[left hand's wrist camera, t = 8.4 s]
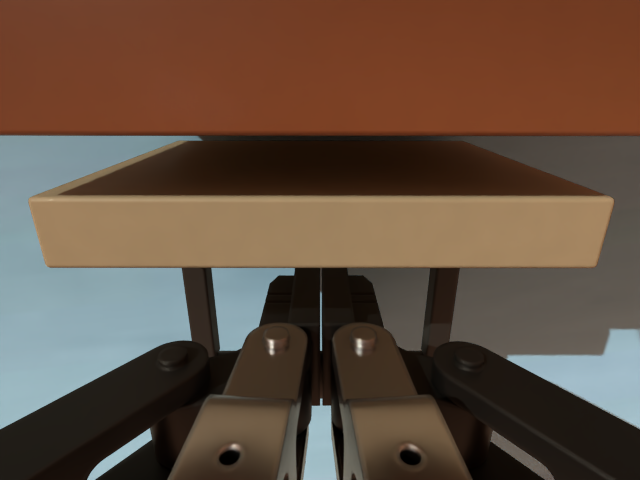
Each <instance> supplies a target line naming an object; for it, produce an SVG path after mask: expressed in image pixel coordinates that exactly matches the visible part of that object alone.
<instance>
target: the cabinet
mask: <svg viewBox="0 0 640 480" xmlns="http://www.w3.org/2000/svg"><path fill="white" fill-rule="evenodd" d="M0 135H38V136H640V0H0Z"/></svg>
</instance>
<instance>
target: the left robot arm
mask: <svg viewBox="0 0 640 480" xmlns="http://www.w3.org/2000/svg"><path fill="white" fill-rule="evenodd" d="M322 386H323V405H331V436H332V444H333V453H334V461H335V469H336V477H337V480H544V479H543V478H542V477H540V476H539V475H537V474H536V473H534V472H533V471H532V470H530V469H529V468H527V467H526V466H525V465H523V464H522V463H520V462H519V461H517V460H516V459H515V458H513V457H512V456H510V455H509V454H508V453H506V452H505V451H503V450H502V449H500V448H499V447H498V446H496V445H495V444H493V443H492V442H491V436H492V431H493V430H494V431H496V432H497V433H498V434H500V435H501V436H503V437H504V438H506V439H507V440H509V441H510V442H512V443H513V444H515V445H516V446H518V447H519V448H521V449H522V450H523V451H525V452H526V453H528V454H529V455H531V456H532V457H534V458H535V459H537V460H538V461H540V462H541V463H542V464H543V465H544V466H545V467H546V468H547V469H548V470H549V471H550V472H551V474H552V475H553V477H554V479H555V480H640V429H638V428H636V427H634V426H632V425H630V424H628V423H626V422H624V421H623V420H621V419H619V418H617V417H615V416H613V415H611V414H609V413H607V412H605V411H604V410H602V409H600V408H598V407H596V406H594V405H592V404H590V403H588V402H586V401H585V400H583V399H581V398H579V397H577V396H575V395H573V394H571V393H569V392H567V391H566V390H564V389H562V388H560V387H558V386H556V385H554V384H552V383H550V382H548V381H547V380H545V379H543V378H541V377H539V376H537V375H535V374H533V373H531V372H529V371H528V370H526V369H524V368H522V367H520V366H518V365H516V364H514V363H512V362H510V361H509V360H507V359H505V358H503V357H501V356H499V355H497V354H495V353H493V352H491V351H490V350H488V349H486V348H484V347H481V346H479V345H476V344H472V343H468V342H459V341H456V342H447V343H444V344H442V345H440V346H438V347H437V348H436V349H435V351H434V353H433V357H430V356H425V355H420V354H416V353H412V352H409V351H406V350H404V349H402V348H400V347H398V346H397V344H396V342H395V339H394V337H393V336H392V334H391V333H390V332H389V331H387V330H386V329H384V326H383V322H382V318H381V315H380V311H379V307H378V303H377V300H376V296H375V292H374V288H373V285H372V283H371V282H370V281H369V280H368V279H367V278H365V277H364V276H363V275H348V272H347V268H322ZM312 406H320V268H295V274H294V276H278V277H277V278H276V279H275V280H273V281H272V282H271V283H270V285H269V289H268V295H267V297H266V303H265V305H264V309H263V313H262V317H261V320H260V324H259V327H257V328H256V329H254V330H253V331H251V332H250V333H249V334H248V336H247V337H246V339H245V342H244V344H243V346H242V349H239V350H237V351H234V352H232V353H228V354H223V355H219V356H214V357H209V355H208V351H207V349H206V348H205V347H204V346H203V345H202V344H199V343H197V342H194V341H175V342H170V343H166V344H163V345H161V346H158V347H156V348H154V349H152V350H150V351H149V352H147V353H145V354H143V355H141V356H139V357H137V358H135V359H133V360H131V361H130V362H128V363H126V364H124V365H122V366H120V367H118V368H116V369H114V370H112V371H111V372H109V373H107V374H105V375H103V376H101V377H99V378H97V379H95V380H93V381H92V382H90V383H88V384H86V385H84V386H82V387H80V388H78V389H76V390H74V391H73V392H71V393H69V394H67V395H65V396H63V397H61V398H59V399H57V400H55V401H54V402H52V403H50V404H48V405H46V406H44V407H42V408H40V409H38V410H36V411H35V412H33V413H31V414H29V415H27V416H25V417H23V418H21V419H19V420H17V421H16V422H14V423H12V424H10V425H8V426H6V427H4V428H2V429H0V480H87V478H88V476H89V475H90V473H91V471H92V470H93V469H94V468H95V467H96V465H97V464H99V463H100V462H101V461H102V460H103V459H105V458H106V457H108V456H109V455H111V454H112V453H114V452H115V451H117V450H118V449H119V448H121V447H122V446H124V445H125V444H127V443H128V442H130V441H131V440H133V439H134V438H136V437H137V436H139V435H140V434H142V433H143V432H144V431H146V430H147V429H149V428H150V430H151V435H152V440H151V441H149V442H148V443H147V444H145V445H144V446H142V447H141V448H140V449H138V450H137V451H135V452H134V453H132V454H131V455H130V456H128V457H127V458H125V459H124V460H123V461H121V462H120V463H118V464H117V465H115V466H114V467H113V468H111V469H110V470H108V471H107V472H106V473H104V474H103V475H101V476H100V477H98V478H97V479H96V480H303V477H304V469H305V461H306V453H307V444H308V436H309V423H310V421H311V411H312Z"/></svg>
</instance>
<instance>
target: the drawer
mask: <svg viewBox="0 0 640 480" xmlns="http://www.w3.org/2000/svg"><path fill="white" fill-rule="evenodd" d="M29 206H30V210H31V213H32V217H33V221H34V224H35V228H36V231H37V235H38V239H39V242H40V246H41V250H42V253H43V257H44V260H45V264H46V265H47V267H50V268H182V272H183V280H184V287H185V294H186V301H187V308H188V316H189V323H190V330H191V337H192V341H194V342H197V343H199V344H202V345H203V346H204V347H205V348H206V349H207V351H208V355H209V357H214V356H219V355H223V354H228V353H232V352H234V351H219V350H220V345H219V335H218V326H217V317H216V308H215V299H214V290H213V280H212V271H211V268H430V276H429V284H428V293H427V302H426V311H425V320H424V329H423V337H422V346H421V349H422V351H409V352H412V353H416V354H420V355H425V356H430V357H433V353H434V351H435V349H436V348H437V347H438V346H440V345H442V344H444V343H447V342H449V339H450V332H451V325H452V318H453V311H454V304H455V297H456V290H457V283H458V276H459V269H460V268H594V267H596V265H597V263H598V260H599V256H600V253H601V249H602V245H603V242H604V238H605V235H606V231H607V228H608V224H609V221H610V217H611V213H612V210H613V206H614V199H613V198H612V197H610V196H607V195H604V194H602V193H599V192H596V191H594V190H591V189H588V188H586V187H583V186H580V185H578V184H575V183H573V182H570V181H567V180H565V179H562V178H559V177H557V176H554V175H551V174H549V173H546V172H543V171H541V170H538V169H535V168H533V167H530V166H528V165H525V164H522V163H520V162H517V161H514V160H512V159H509V158H506V157H504V156H501V155H498V154H496V153H493V152H490V151H488V150H485V149H483V148H480V147H477V146H475V145H472V144H469V143H467V142H464V141H177V142H174V143H171V144H169V145H166V146H163V147H161V148H158V149H156V150H153V151H150V152H148V153H145V154H142V155H140V156H137V157H135V158H132V159H129V160H127V161H124V162H121V163H119V164H116V165H114V166H111V167H108V168H106V169H103V170H100V171H98V172H95V173H93V174H90V175H87V176H85V177H82V178H79V179H77V180H74V181H72V182H69V183H66V184H64V185H61V186H58V187H56V188H53V189H51V190H48V191H45V192H43V193H40V194H37V195H35V196H32V197H30V198H29ZM320 398H323V386H322V351H320Z"/></svg>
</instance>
